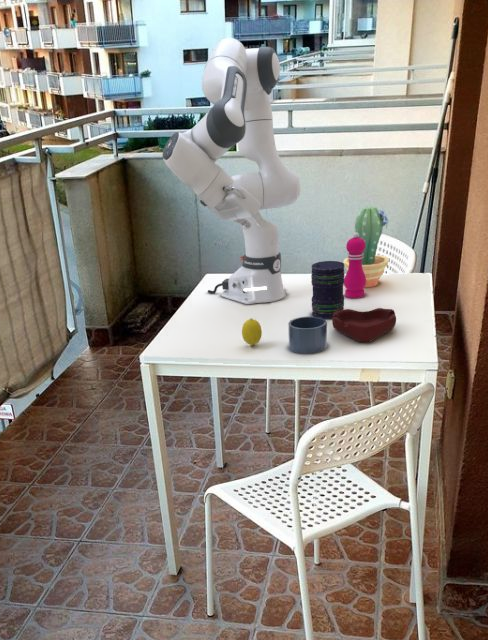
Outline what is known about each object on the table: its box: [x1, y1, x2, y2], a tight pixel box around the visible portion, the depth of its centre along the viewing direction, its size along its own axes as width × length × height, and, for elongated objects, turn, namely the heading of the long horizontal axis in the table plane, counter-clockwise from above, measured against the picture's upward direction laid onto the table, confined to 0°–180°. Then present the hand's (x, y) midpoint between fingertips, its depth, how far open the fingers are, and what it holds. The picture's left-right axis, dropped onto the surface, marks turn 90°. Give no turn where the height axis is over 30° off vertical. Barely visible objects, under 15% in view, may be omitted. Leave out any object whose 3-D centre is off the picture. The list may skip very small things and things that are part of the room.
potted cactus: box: [342, 205, 390, 288], centre depth 232 cm, size 15×15×25 cm
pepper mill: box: [343, 232, 366, 299], centre depth 223 cm, size 7×7×20 cm
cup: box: [287, 315, 328, 355], centre depth 190 cm, size 10×10×7 cm
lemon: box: [241, 318, 263, 347], centre depth 193 cm, size 6×6×8 cm
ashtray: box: [331, 307, 397, 344], centre depth 195 cm, size 18×16×5 cm
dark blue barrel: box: [310, 260, 346, 320], centre depth 210 cm, size 10×10×15 cm
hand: (256, 226), depth 182 cm, fingers open, 8 cm apart
